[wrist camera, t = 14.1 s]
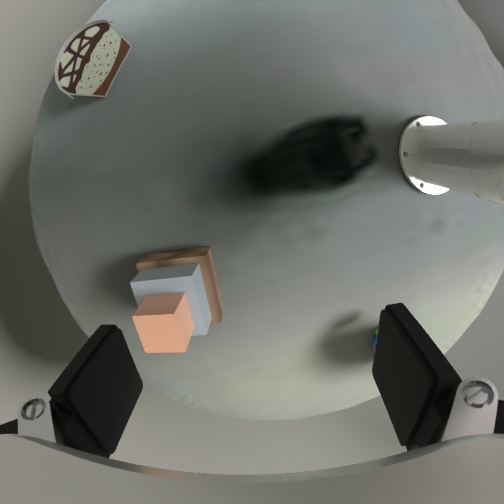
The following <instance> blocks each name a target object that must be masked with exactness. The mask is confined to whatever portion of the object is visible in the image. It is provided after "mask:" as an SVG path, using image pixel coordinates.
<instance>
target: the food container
mask: <svg viewBox="0 0 504 504" xmlns="http://www.w3.org/2000/svg"><path fill="white" fill-rule="evenodd" d="M110 22H114V23H115V21H112V20H96V21H92V22H90V23H87V24H85V25H84V26H82V27H81V28H79V29H78V30H76V31H75V32H74V33H73V34H72V35H71V36H70V37H69V38H68V39H67V41H66V42H65V43H64V45H63V47H62V48H61V50H60V52H59V54H58V57H57V60H56V64H55V72H54V73H55V80H56V83H57V86H58V87H59V89H60V90H61V91H62V92H63V93H64V94H65V95H67V96H68V97H70V98H72V99H74V98H73V97H71V96H70V95H81V96H95V97H106V96H107V94H108V92H109V90H110V87H111V85H112V83H113V81H114V79H115V77H116V76H117V74H118V72H119V70H120V68H121V66H122V64H123V62H124V61H125V59H126V57H127V55H128V54H129V52H130V50H131V48H132V46H131V45H130V43H129V42H128V41H127V40H126V39H125V38H124V37H123V36H122V35H121V34H120V33H119V32H118V30H117V29H116V28H115V27H114V26H113V25H112V24H111V23H110Z"/></svg>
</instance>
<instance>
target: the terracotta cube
mask: <svg viewBox="0 0 504 504" xmlns="http://www.w3.org/2000/svg"><path fill="white" fill-rule="evenodd" d="M132 317H133V320H134V323H135V326H136V329H137V331H138V334H139V337H140V339H141V342H142V345H143V347H144V350H145V352H146V353H162V352H186V349H187V346H188V344H189V341H190V338H191V335H192V333H193V330H194V325H193V321H192V318H191V314H190V310H189V306H188V302H187V298H186V294H185V292H184V293H172V294H160V295H147V297H146V298H145V299H144V301H143V302H142V303H141V305H140V306H139V307H138V309H137V310H136V311H135V313H134V314H133V315H132Z"/></svg>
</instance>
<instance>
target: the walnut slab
mask: <svg viewBox="0 0 504 504" xmlns="http://www.w3.org/2000/svg"><path fill="white" fill-rule="evenodd" d="M194 263H199V265H200V269H201V274H202V278H203V283H204V287H205V291H206V296H207V300H208V304H209V308H210V312H211V317H212V319H211V322H210V324H215V323H220V321H221V317H222V313H223V306H222V301H221V296H220V291H219V286H218V281H217V276H216V271H215V266H214V261H213V256H212V250H211V246H209V247H201V248H193V249H186V250H178V251H170V252H162V253H155V254H147V255H145V256H143V257H142V258H141V259H140V260H139V261H138V262H137V263H136V268H137V271H138V273H139V272H140V271H141V270H144V269H152V268H161V267H169V266H177V265H186V264H194Z"/></svg>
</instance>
